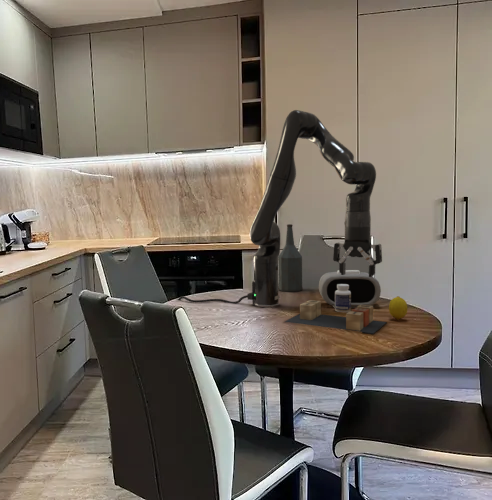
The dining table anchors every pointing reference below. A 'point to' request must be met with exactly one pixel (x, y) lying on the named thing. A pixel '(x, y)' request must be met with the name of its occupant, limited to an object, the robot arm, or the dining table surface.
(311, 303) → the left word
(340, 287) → the pill bottle
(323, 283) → the alarm clock
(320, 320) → the word mat
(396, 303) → the lemon
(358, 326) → the letter block row
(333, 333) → the dining table surface
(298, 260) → the bottle
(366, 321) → the red block
